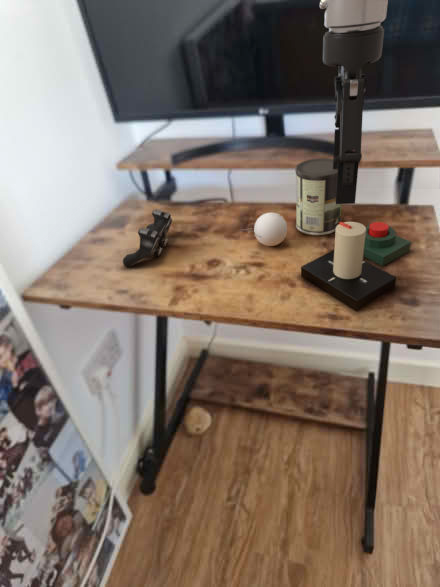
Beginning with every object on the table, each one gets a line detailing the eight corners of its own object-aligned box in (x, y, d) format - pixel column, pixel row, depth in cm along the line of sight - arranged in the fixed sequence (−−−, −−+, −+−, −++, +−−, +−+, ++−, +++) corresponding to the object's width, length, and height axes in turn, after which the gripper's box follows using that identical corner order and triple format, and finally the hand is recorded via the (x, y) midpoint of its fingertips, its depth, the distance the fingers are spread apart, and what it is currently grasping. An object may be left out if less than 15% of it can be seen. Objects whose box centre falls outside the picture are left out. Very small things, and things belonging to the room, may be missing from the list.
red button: (391, 233, 81) (392, 226, 80) (379, 240, 80) (380, 232, 79) (376, 227, 84) (377, 220, 83) (364, 233, 82) (365, 226, 81)
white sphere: (290, 236, 92) (290, 206, 88) (284, 253, 87) (283, 223, 82) (248, 234, 95) (245, 205, 91) (240, 250, 90) (236, 221, 85)
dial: (367, 271, 74) (372, 226, 68) (347, 282, 72) (351, 237, 66) (346, 260, 77) (350, 217, 72) (327, 271, 76) (329, 227, 70)
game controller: (147, 280, 90) (159, 246, 83) (119, 267, 89) (128, 232, 83) (170, 242, 102) (182, 210, 95) (145, 231, 101) (155, 198, 95)
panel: (395, 288, 73) (397, 276, 72) (356, 311, 69) (357, 299, 68) (337, 257, 83) (338, 246, 81) (300, 277, 79) (300, 265, 78)
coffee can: (335, 212, 98) (339, 155, 90) (344, 233, 90) (349, 172, 82) (293, 216, 99) (292, 160, 91) (298, 237, 91) (298, 177, 83)
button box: (409, 251, 82) (412, 233, 79) (382, 266, 79) (385, 248, 76) (370, 233, 89) (372, 217, 86) (344, 247, 86) (345, 230, 84)
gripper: (322, 21, 62) (318, 157, 75) (325, 44, 43) (319, 221, 56) (373, 15, 61) (360, 155, 73) (400, 35, 41) (376, 220, 54)
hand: (342, 184), depth 65 cm, fingers open, 13 cm apart
